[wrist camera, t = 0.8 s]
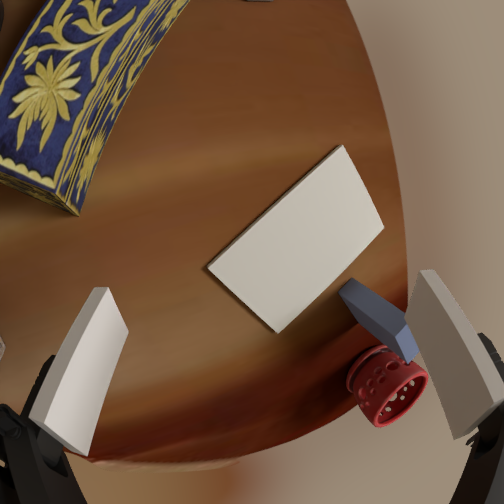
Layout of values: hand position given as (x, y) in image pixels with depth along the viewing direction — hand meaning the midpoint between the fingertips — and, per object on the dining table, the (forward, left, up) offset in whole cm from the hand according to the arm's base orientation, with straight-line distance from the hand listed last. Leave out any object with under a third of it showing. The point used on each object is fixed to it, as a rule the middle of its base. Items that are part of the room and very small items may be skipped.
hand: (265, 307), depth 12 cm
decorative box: (-17, -7, -20) cm, 27 cm away
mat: (+7, +13, -19) cm, 25 cm away
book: (+19, +21, -19) cm, 35 cm away
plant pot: (+36, +25, -20) cm, 49 cm away
